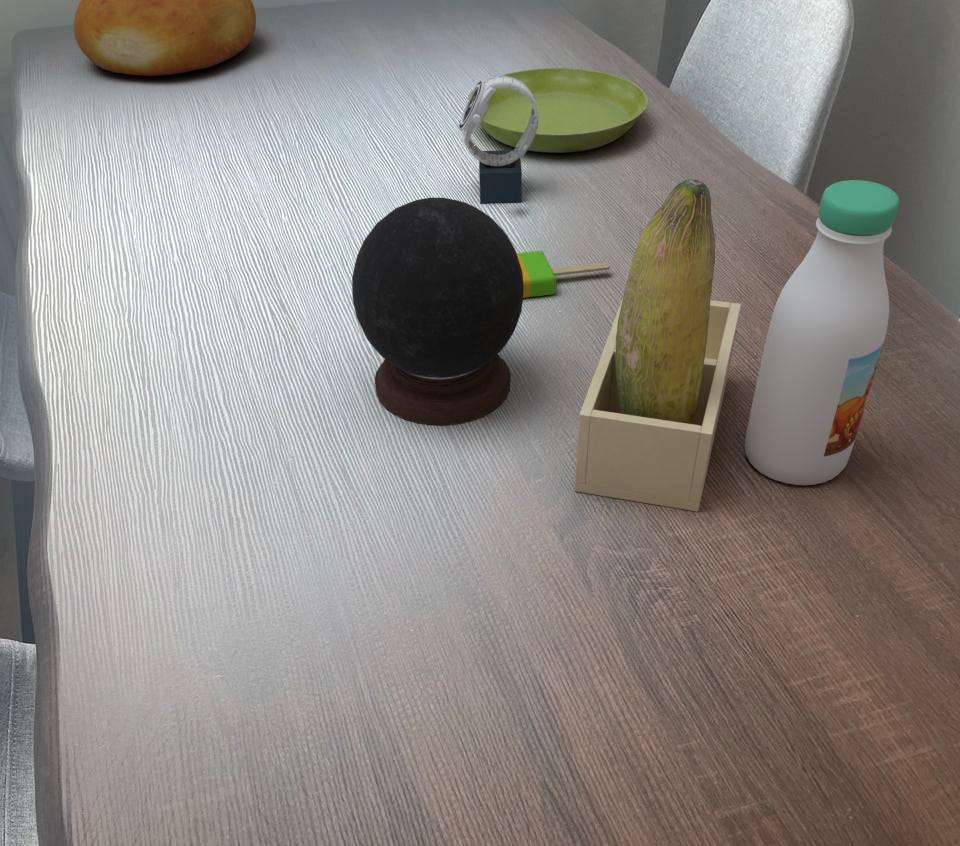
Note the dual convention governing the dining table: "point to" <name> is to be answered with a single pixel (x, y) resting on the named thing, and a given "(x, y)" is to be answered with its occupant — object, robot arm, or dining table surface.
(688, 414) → the vegetable
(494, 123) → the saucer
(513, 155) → the watch
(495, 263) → the black ball on stand
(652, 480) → the wooden divided box
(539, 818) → the dining table surface
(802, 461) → the milk bottle
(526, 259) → the popsicle
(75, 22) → the bread
